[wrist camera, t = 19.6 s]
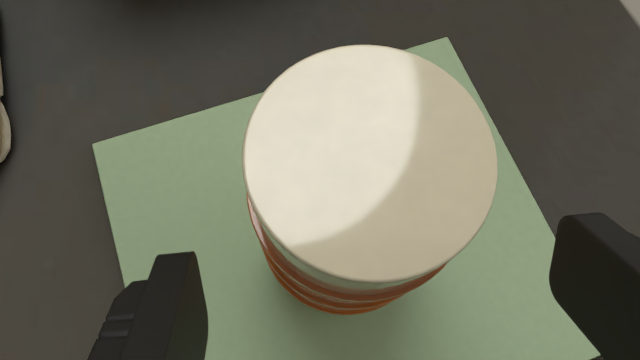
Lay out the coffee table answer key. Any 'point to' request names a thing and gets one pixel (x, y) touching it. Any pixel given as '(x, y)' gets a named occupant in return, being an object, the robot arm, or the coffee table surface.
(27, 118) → the coffee table surface
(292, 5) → the coffee table surface
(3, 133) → the fossil tooth
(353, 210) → the banded jar
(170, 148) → the mat
